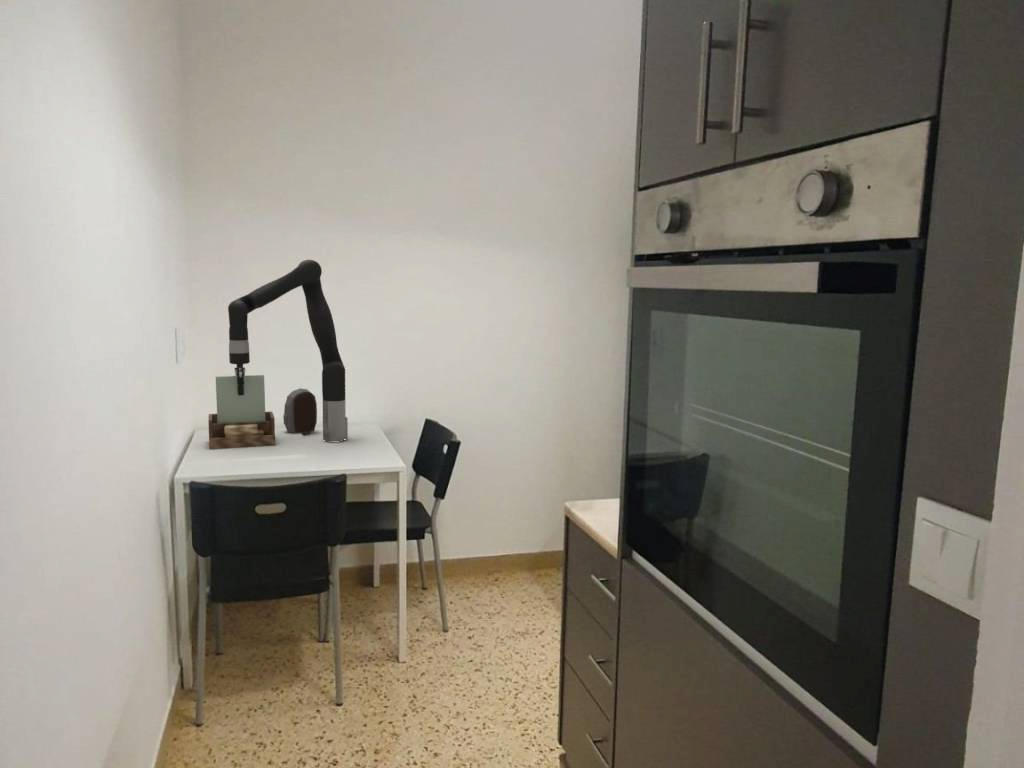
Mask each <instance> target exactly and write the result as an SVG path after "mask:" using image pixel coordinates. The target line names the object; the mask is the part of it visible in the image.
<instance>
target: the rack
mask: <svg viewBox="0 0 1024 768" xmlns="http://www.w3.org/2000/svg"><path fill="white" fill-rule="evenodd" d="M207 420H208V421H207V422H208V445H209V447H208V448H209V450H221V449H222V450H223V449H225V450H226V449H239V448H242V449H243V448H256V447H257V448H258V447H273V446H275V447H276V428H275V427H276V426H275V425H276V424H275V416H274V412H273V411H270V410H269V411H265V420H266V421H261V422H239V423H218V424H217V413H208V419H207ZM248 424H257V429H258V430H263V432H264V435H263V436H245V437H226V438H225V430H224V428H225V425H248Z"/></svg>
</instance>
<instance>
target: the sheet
mask: <svg viewBox="0 0 1024 768" xmlns="http://www.w3.org/2000/svg"><path fill="white" fill-rule="evenodd" d="M239 382H242V381H239ZM265 388H266V387H265V375H264V374H256V375H255V374H254V375H252V374H251V375H245V380H244V395H238V386H237V380H236V376H235V375H223V376H222V375H221V376H220V375H219V376H215V392H216V395H215V396H216V397H215V398H216V414H217V424H218V423H239V422H261V421H266V420H265V412H266V398H265V397H266V393H265V391H266V389H265Z"/></svg>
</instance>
